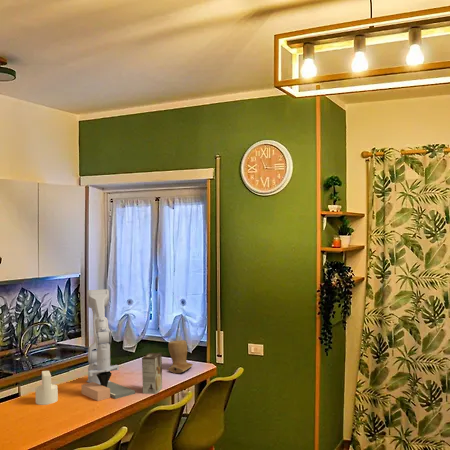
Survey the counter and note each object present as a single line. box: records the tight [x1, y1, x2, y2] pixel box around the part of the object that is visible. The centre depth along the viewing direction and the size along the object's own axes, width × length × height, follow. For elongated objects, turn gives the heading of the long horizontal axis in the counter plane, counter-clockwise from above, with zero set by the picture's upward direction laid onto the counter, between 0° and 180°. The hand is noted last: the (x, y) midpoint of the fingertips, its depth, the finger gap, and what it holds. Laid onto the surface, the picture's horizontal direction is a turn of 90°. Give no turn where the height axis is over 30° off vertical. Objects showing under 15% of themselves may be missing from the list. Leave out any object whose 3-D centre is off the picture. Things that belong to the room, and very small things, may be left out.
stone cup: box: [167, 339, 194, 374], centre depth 280 cm, size 15×12×15 cm
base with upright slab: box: [35, 370, 59, 406], centre depth 234 cm, size 9×9×12 cm
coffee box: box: [141, 352, 163, 395], centre depth 246 cm, size 9×6×16 cm
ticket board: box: [100, 381, 136, 400], centre depth 246 cm, size 20×10×2 cm, turn 43°
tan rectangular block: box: [81, 382, 111, 402], centre depth 240 cm, size 14×6×4 cm, turn 43°
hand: (104, 389), depth 243 cm, fingers closed
